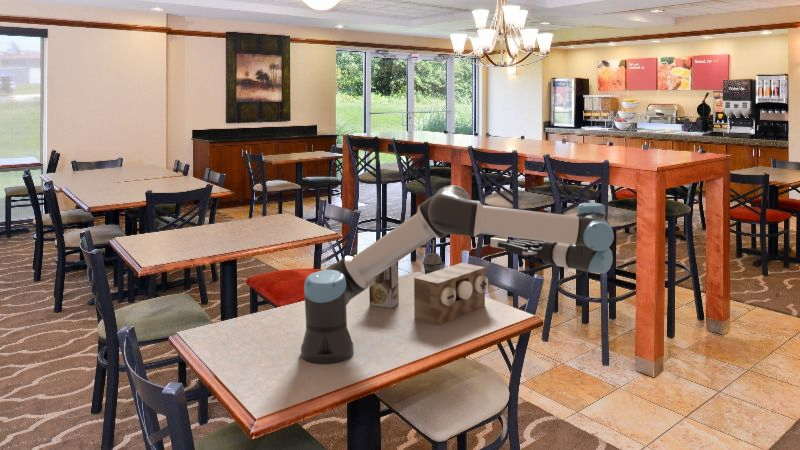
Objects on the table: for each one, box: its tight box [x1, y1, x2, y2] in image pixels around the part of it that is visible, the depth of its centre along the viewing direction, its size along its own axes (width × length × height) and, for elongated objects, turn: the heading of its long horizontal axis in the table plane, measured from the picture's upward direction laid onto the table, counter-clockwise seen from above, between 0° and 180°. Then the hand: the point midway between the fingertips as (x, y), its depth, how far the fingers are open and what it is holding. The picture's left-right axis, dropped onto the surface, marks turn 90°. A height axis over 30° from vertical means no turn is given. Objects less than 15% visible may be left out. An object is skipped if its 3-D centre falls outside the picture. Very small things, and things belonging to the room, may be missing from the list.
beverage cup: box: [422, 239, 443, 275], centre depth 241 cm, size 7×7×20 cm
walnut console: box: [413, 262, 489, 326], centre depth 219 cm, size 26×12×14 cm, turn 137°
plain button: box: [457, 281, 473, 300], centre depth 215 cm, size 6×2×6 cm, turn 137°
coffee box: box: [368, 261, 400, 309], centre depth 228 cm, size 9×6×16 cm
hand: (491, 242), depth 205 cm, fingers closed
